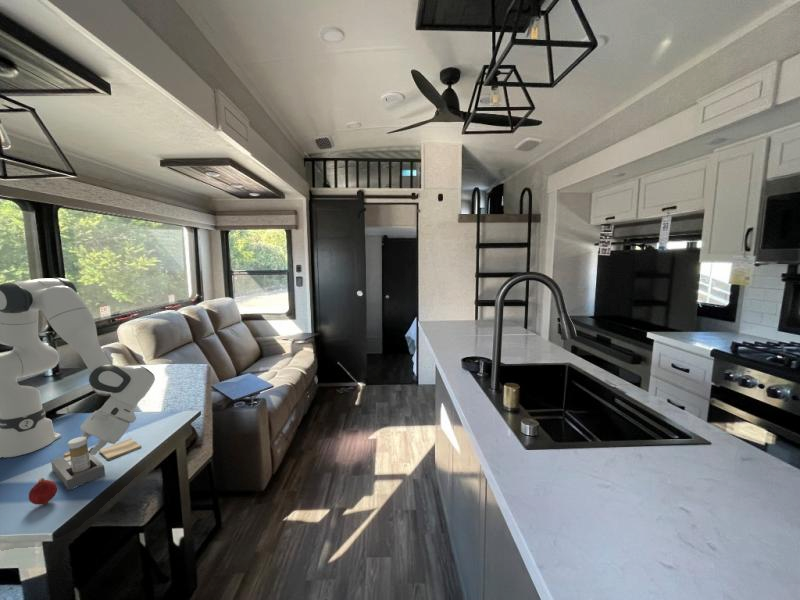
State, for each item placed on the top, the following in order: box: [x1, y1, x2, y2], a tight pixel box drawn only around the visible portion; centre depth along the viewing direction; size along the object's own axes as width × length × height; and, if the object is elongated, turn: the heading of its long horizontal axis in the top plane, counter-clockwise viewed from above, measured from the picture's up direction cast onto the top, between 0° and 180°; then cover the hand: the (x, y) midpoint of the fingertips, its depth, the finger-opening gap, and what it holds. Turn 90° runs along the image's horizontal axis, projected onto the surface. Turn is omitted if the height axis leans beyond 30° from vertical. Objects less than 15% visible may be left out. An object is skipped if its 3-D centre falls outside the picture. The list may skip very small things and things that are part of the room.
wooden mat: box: [98, 438, 142, 461], centre depth 127 cm, size 10×10×1 cm
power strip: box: [50, 450, 106, 491], centre depth 115 cm, size 26×9×4 cm, turn 56°
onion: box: [28, 477, 58, 506], centre depth 99 cm, size 6×6×8 cm
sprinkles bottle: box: [67, 436, 90, 475], centre depth 111 cm, size 5×5×14 cm
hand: (84, 450), depth 111 cm, fingers open, 8 cm apart
